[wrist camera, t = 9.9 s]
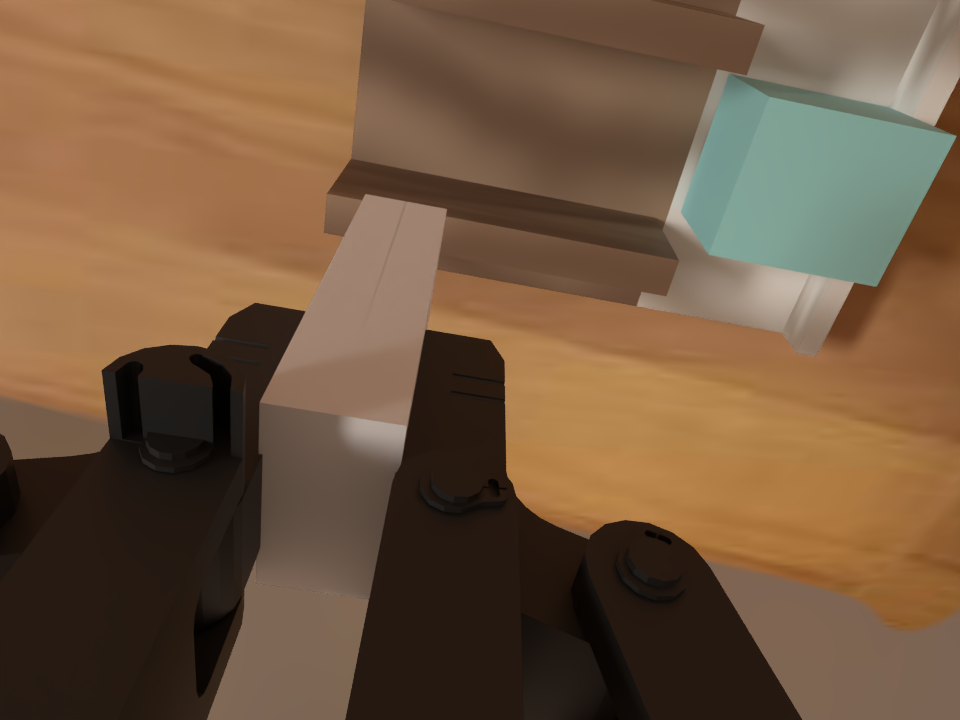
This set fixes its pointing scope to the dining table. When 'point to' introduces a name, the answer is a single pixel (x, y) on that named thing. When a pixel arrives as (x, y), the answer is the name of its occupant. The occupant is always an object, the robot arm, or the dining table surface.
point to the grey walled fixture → (614, 133)
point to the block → (810, 180)
